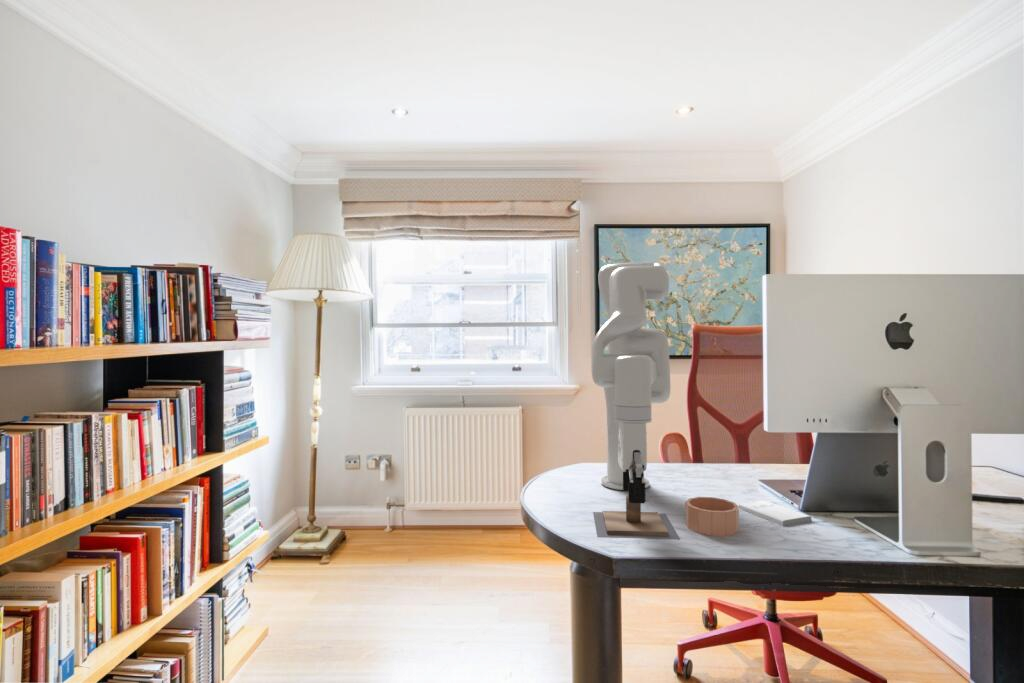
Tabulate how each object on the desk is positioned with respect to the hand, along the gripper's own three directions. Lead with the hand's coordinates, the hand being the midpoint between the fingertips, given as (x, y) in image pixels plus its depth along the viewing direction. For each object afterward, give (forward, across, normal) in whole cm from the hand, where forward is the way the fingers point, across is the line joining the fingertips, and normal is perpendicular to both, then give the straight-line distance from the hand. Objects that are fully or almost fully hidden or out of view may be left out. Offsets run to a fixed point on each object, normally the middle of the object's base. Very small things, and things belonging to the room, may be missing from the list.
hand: (633, 496), depth 111 cm
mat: (+6, -1, 0) cm, 7 cm away
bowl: (+6, -1, +16) cm, 17 cm away
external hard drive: (+7, -11, +32) cm, 35 cm away
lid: (+6, -1, 0) cm, 6 cm away
